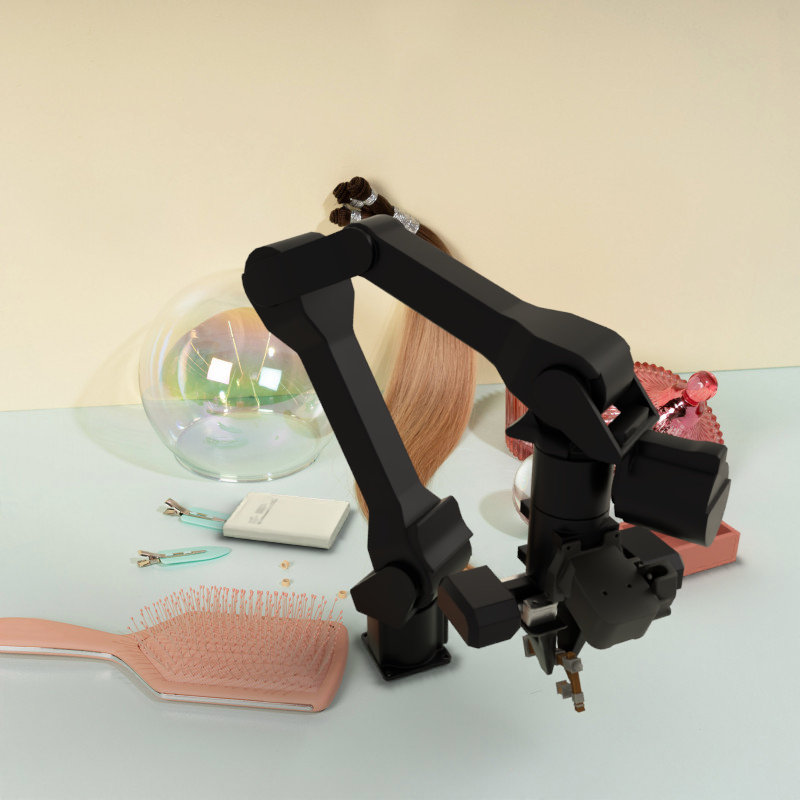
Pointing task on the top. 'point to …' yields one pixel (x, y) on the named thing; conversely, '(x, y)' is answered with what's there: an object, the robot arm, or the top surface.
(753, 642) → the top surface
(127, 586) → the top surface
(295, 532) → the hard drive
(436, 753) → the top surface
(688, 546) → the tray
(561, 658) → the wooden post with brackets
